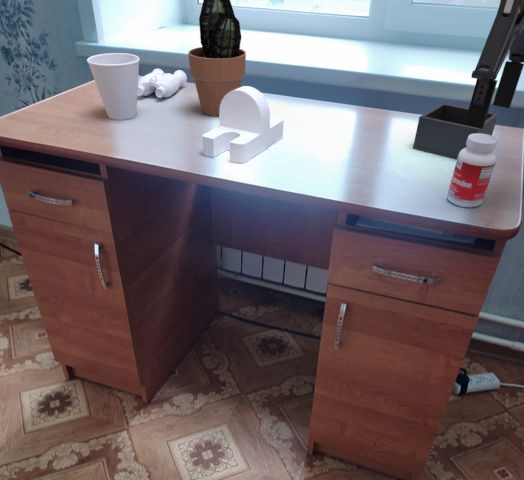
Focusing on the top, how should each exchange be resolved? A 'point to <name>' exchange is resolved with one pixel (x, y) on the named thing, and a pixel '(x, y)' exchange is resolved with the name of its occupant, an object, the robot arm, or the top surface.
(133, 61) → the cup
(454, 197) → the pill bottle
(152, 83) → the binoculars
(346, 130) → the top surface
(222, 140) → the bracket
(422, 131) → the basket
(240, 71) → the potted plant
